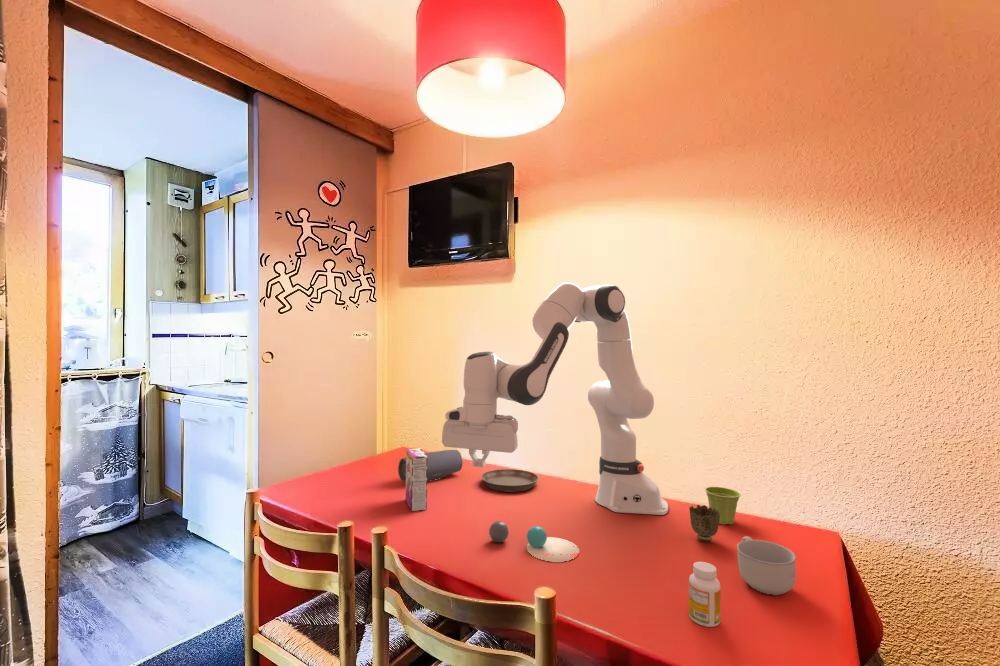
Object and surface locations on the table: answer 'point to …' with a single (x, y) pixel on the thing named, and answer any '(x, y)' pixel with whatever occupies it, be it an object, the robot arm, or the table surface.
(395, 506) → the table surface
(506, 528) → the gray ball
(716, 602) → the supplement bottle
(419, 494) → the candy bar box
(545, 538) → the teal ball
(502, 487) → the plant saucer
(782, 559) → the teacup
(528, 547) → the cream mark
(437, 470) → the bluetooth speaker
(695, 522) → the cup
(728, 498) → the plant pot
